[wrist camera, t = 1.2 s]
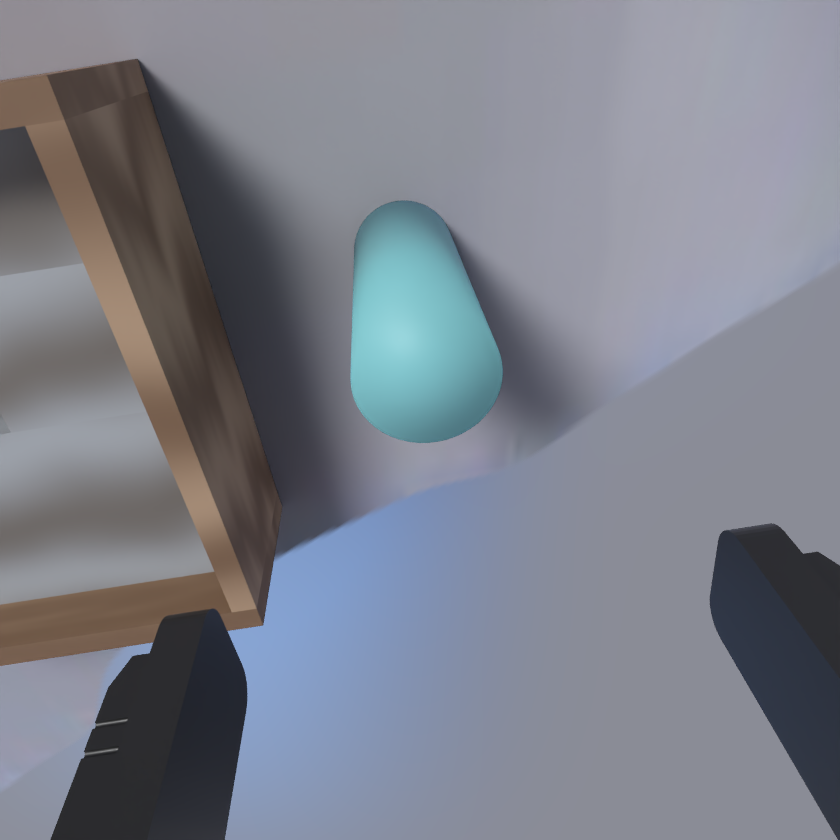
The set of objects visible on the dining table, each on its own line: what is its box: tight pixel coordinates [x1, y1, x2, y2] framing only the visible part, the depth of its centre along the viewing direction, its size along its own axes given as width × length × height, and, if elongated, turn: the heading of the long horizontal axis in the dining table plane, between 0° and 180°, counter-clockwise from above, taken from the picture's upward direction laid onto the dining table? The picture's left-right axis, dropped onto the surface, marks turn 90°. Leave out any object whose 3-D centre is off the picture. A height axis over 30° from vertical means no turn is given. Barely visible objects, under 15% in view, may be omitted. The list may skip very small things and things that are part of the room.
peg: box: [351, 201, 503, 443], centre depth 22 cm, size 4×4×11 cm
